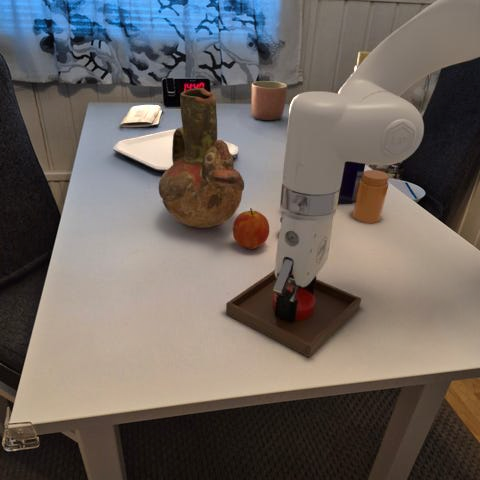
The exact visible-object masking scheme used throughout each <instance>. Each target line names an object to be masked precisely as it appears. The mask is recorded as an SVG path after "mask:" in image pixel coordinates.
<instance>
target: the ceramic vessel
mask: <svg viewBox="0 0 480 480" xmlns="http://www.w3.org/2000/svg"><path fill="white" fill-rule="evenodd" d="M179 102H180V108H179V109H180V117H181V124H182V125H181V126H180V127H178V128H176V131H175V132H174V135H173V147H172V160H173V165H172V166H171V167H170V168H169V169H167V170H166V171H165V172H163V174H162V175H161V177H160V178H159V181H158V193H159V197H160V198H161V199H162V204H163V206H164V208H165V210H166V211H167V212H168V213H169V214H171V215H172V216H173V217H174V218H175V219H176V220H177V221H179V223H181V224H182V225H184V226H188V227H193V228H198V229H205V228H206V229H207V228H211V227H214V226H219V225H221V224H223V223H225V222H226V221H228V220H229V219H231V217H233V215H234V214H235V213H236V211H237V210H238V208H239V207H240V204H241V202H242V197H243V191H244V190H245V180H244V179H243V176H242V175H241V173H240V171H238V170H237V169H236V168H235V165H234V163H235V161H234V157H233V155H232V154H231V153H230V152H229V149H228V146H227V144H226V143H225V142H226V141H224V140H223V139H219V140H217V139H218V114H217V113H218V112H217V99H216V97H215V96H214V93H213V92H211V91H208V90H206V89H205V88H203V87H194V88H189V89H186V90H184V91H182V92H180V95H179Z"/></svg>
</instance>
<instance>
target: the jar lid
mask: <svg viewBox="0 0 480 480" xmlns="http://www.w3.org/2000/svg"><path fill="white" fill-rule="evenodd" d="M287 290H290V291H291V293H292V290H293V287H287ZM276 298H277V297H276V293H275V295H274V301H273V309H274V311H275V307H276ZM296 299H297V300H298V305H297V312H296V319H295V320H304V319H307V318H309V317H310V316H311V315H312V314H313V312H314V307H315V297H314V296H313V294H312V293H310V292H309V291H307V290H305V289H302V288H299V290H298V293H297V297H296Z"/></svg>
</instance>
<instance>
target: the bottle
mask: <svg viewBox="0 0 480 480" xmlns="http://www.w3.org/2000/svg"><path fill="white" fill-rule="evenodd" d="M371 52H372V51H358V53H357V61H356V65H354V68H353V69H354V71H355V70H356V69H357V68H358V67H359V65H360V64H361V63H362V62H363V61H364V60H365V58H366V57H367V56H368V55H369V54H370V53H371ZM354 71H353V72H354ZM365 168H366V164H364V163H358V162H350V161H346V162H345V165H344V171H343V176H342V182H341V187H340V193H339V199H338V204H337V205H352V204H355V201H356V196H357V191H358V186H359V181H360V179H361V178H362V175H363V172H364V171H365Z"/></svg>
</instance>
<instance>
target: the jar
mask: <svg viewBox="0 0 480 480" xmlns="http://www.w3.org/2000/svg"><path fill="white" fill-rule="evenodd" d="M389 179H390V177H389V174H388V173H387V172H384V171H382V170H377V169H368V170H364V172H363V175H362V178H361V179H360V181H359V186H358V191H357V196H356V201H355V202H354V206H353V210H352V217H353V219H355V220H356V221H358V222H360V223H361V222H362V223H366V224H373V223H374V224H375V223H378V222H379V221H380V220H381V218H382V217H381V216H382V213H383V209H384V204H385V200H386V196H387V193H388V189H389V184H390V183H389V182H388V181H389Z"/></svg>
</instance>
